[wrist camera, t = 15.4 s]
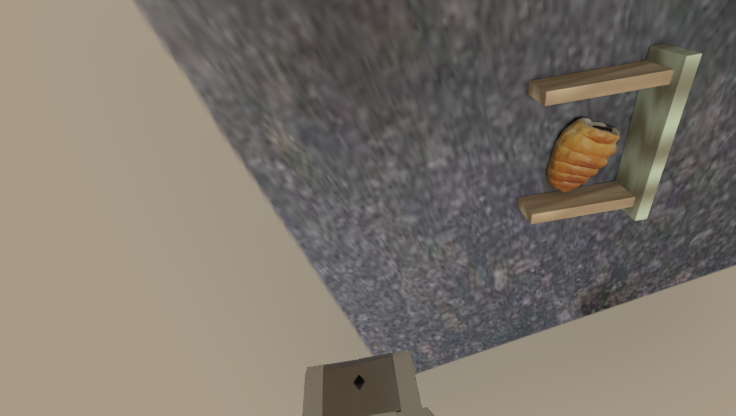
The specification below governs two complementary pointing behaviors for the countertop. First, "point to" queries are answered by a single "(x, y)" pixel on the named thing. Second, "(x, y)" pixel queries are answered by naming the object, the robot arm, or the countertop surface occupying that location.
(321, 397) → the robot arm
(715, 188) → the countertop surface
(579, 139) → the pastry
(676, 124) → the wooden wall rack
